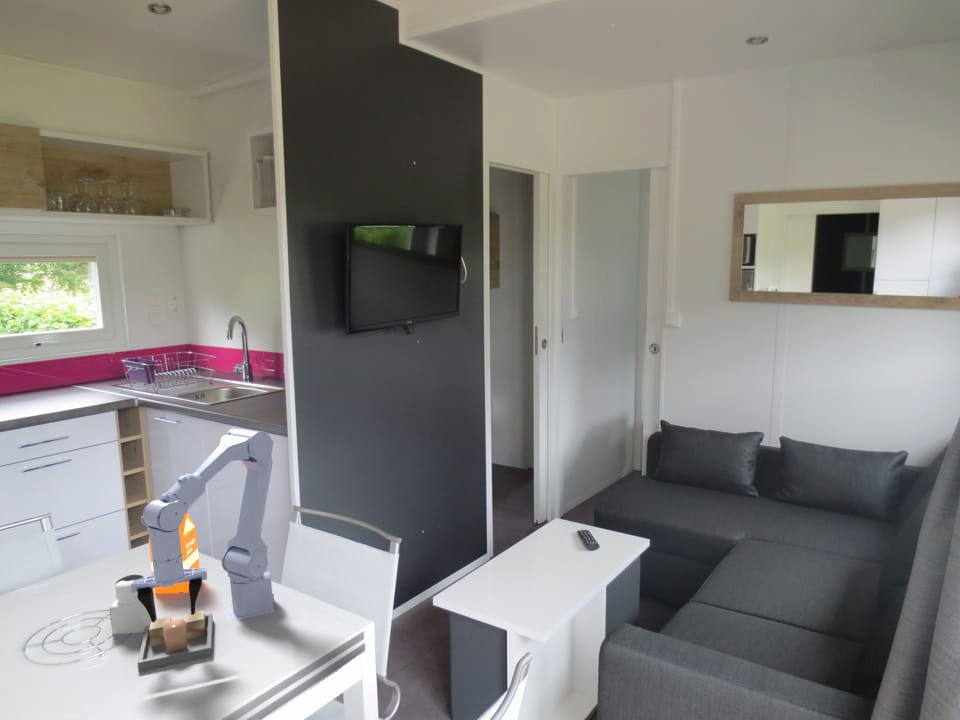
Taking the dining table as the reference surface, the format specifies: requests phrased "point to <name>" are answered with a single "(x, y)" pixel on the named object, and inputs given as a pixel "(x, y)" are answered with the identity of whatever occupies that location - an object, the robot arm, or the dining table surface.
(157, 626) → the birch block
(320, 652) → the dining table surface
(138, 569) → the dining table surface
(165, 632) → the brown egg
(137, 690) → the dining table surface
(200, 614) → the birch block
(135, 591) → the robot arm
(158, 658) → the tray
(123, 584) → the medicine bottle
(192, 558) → the orange juice
